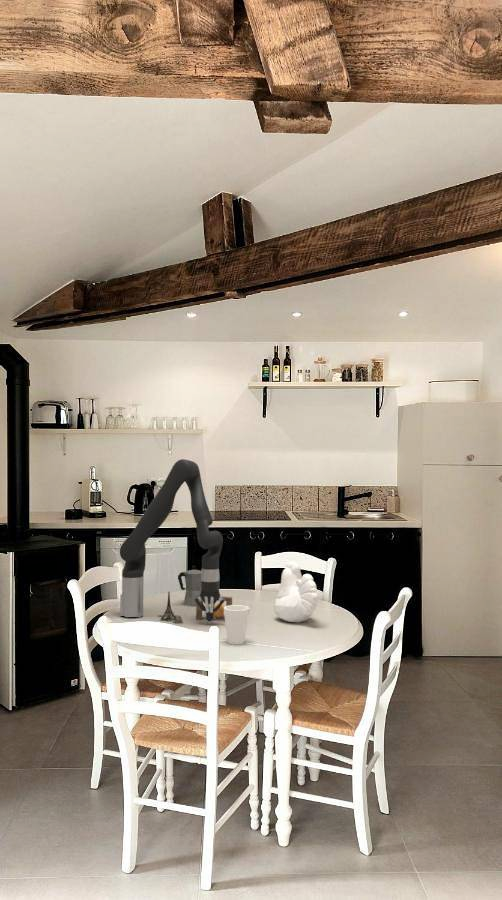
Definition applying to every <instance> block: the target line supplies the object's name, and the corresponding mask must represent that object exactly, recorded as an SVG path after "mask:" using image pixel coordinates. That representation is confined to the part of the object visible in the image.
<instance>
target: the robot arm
mask: <svg viewBox="0 0 502 900" xmlns="http://www.w3.org/2000/svg"><path fill="white" fill-rule="evenodd" d="M201 476H202V475H201V472H200V468H199V465H198V464H197V463H196V462H195V461H192V460H189V459H183V458H182V459H178V460H177V461H176V462H174V464H173V466H172V468H171V469H170V471H169V473H168V474H167V477H166V479H165V480H164V482H163V484H162V485H161V487H160V489H159V490H158V492H157V493H156V494H155V496H154V497H153V499H152V500H151V502H150V503H149V505H148V506H147V508H146V510H145V511H144V513H143V514H142V515H141V518H140V519H139V520H138V523H137V524H136V526H135V527H134V529H133V530H132V531H131V533H130V534H129V535H128V537H127V538H126V539H125V540H124V541H123V542H122V543H121V545H120V548H119V556H120V558H121V559H122V560H123V561H124V566H123V569H122V571H121V594H120V597H119V599H120V600H119V601H120V602H119V605H120V606H119V612H120V613H119V615H120V616H126V617H139V618H142V617H143V616H144V585H145V584H144V576H145V575H144V573H145V571H146V561H147V559H146V557H147V550H146V545H145V544H146V543H147V541H148V540H149V538H150V537H151V536H152V535H153V534H155V532H156V531H157V530H158V529H159V528H160V527H161V526H162V525H163V523H164V522H166V520H167V518H168V517H169V515H170V513H171V512H172V510H173V507H174V505H175V504H174V503H175V499H176V494H177V492H179V490H180V488H181V487H182V485H183V484H184V483H185V484H186V486H187V487H188V490H189V494H190V507H191V508H190V509H191V513H192V516H193V519H194V521H195V525H196V536H197V537H196V538H197V539H196V540H197V542H198V544H199V547H201V548H202V549H204V550H208V551H207V552H206V553H205V554H203V555H202V557H201V571H202V572H201V593H200V596H199V597H198V598H196V599H195V601H196V603H197V604H198V606H199V607H200V608H201V610H202V612H204V613H206V618H205V619H206V621H207V622H208V623H211V622H212V621H213V620H214V619H213V618H214V612H216V611H217V610H218V609H219V608H220V606H221V605H222V604H223V605H224V603H225V602H226V601H225V599H223V598H222V597H223V596H222V595H221V594H220V579H221V578H220V577H221V576H220V569H219V568H220V556H221V552H222V548H223V544H224V543H223V542H224V539H223V535H222V533H221V532H220V531H218V530H210V529H209V527H210V526H211V525H212V524H213V523H214V522H213V521H214V520H213V518H212V517H213V516H212V515H211V512H210V509H209V505H208V503H207V500H206V496H205V492H204V487H203V483H202V477H201ZM201 599H202V600H203V603H202V602H201ZM218 599H219V601H217V600H218ZM217 602H218V603H217ZM216 603H217V604H218V605H217V607H216V608H214V606H215V605H216ZM120 616H119V617H120ZM141 616H142V617H141Z"/></svg>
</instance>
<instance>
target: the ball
mask: <svg viewBox="0 0 502 900" xmlns="http://www.w3.org/2000/svg"><path fill="white" fill-rule="evenodd" d="M218 604H219V603H217V604H216V603H215V606H214V608H216V607H217V605H218ZM224 607H226V605H224V603H223V604H222V605H221V606H220V608H219V609H218V610H217V611H216V612H214V616H215V617H217V618H221V617H223V616H224Z"/></svg>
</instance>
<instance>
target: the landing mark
mask: <svg viewBox="0 0 502 900" xmlns="http://www.w3.org/2000/svg"><path fill="white" fill-rule="evenodd" d="M202 619H206V612H204V614H202ZM214 619H215V620H216V619H218V620H225V616H223V617H221V618H217V617H215V616H214V618H213V620H214Z"/></svg>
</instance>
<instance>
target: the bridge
mask: <svg viewBox="0 0 502 900" xmlns="http://www.w3.org/2000/svg"><path fill="white" fill-rule="evenodd" d="M198 597H199V596H197V597H196V598H198ZM221 597H222V598H223V599H225V602H226V603H225V604H226V605H225V607H226V606H230V605H233V596H221ZM201 602H202V599H201ZM217 602H219V599H218V600H217ZM195 607H196V609H195V610H196V611H195V620H196V621H202V620H203V618H202V616H203V611H202V610H201V608H200V607H199V606H198V604H197V603H196V606H195Z"/></svg>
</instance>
